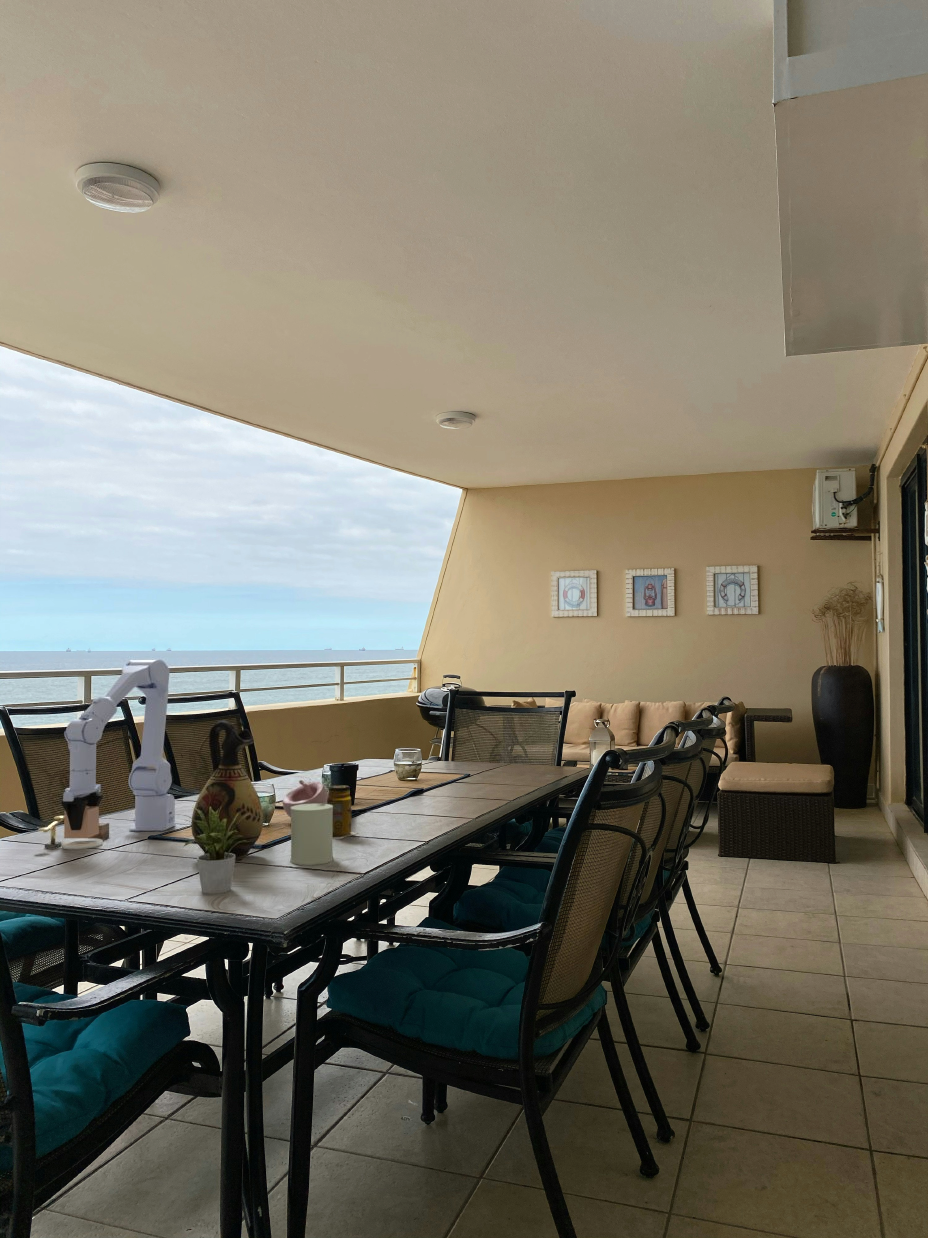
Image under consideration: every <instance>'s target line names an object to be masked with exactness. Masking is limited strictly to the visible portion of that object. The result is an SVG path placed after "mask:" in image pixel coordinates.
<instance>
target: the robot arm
mask: <svg viewBox="0 0 928 1238" xmlns="http://www.w3.org/2000/svg"><path fill="white" fill-rule="evenodd" d="M170 670H171V669H170V668H169V666H168V665H167V663H166V662H165V661H164V660H163V659H142V660H141V659H140V660H139V659H131V660H128V661H127V663H126V664H125V666H123V667H122V669H121V675H120V677H118V679H117V680H116V682H115V683H114V684H113V685H112V687H111V688H110V689H109V691H107V694H106V695H105V696H99V697H96V698H94V699H93V700H92V701H91V702H92V703H91V705H89V707H87V709H85V711H84V712H82V713H81V714H80V716H79V717H78V719H73V720H71V721H70V722H69V723H68V724H67V726H66V729H65V731H64V732H63V733H64V739H65V740H66V741H67V745H68V746H67V748H68V750H69V787H67V788H65V789H64V792H63V795H62V796H63V799H62V800H61V802H60V804H61V806H62V807H63V809H64V810H65V811H66V813H67V816H68V820H69V824H70V828H71V830H81V827H82V821H83V814H84V810H85V807H86V806H99V805H100V804H101V802H102V800H103V798H104V797H103V796H104V794H103V793H101V792H102V791H101V790H102V788H101V787H102V785H101V784H100V783H99V784H97V782H96V781H97V777H96V776H97V743H98V742H99V741H100V740H101V739H102V735H103V732H104V729H105V726H106V725H107V724H108V723H109V722H110V720H111V719H112V718H113V717H114V715H116V713H117V711H118V709H117V705H118V704H119V703H120V702H121V701H123V699H124V698H126V696H128V695H129V694H130V692H131V691H132V690H133V689H135V688H136V689H137V690H139V691H140V692H142V693H143V695H145V707H144V718H143V726H142V739H141V750H140V756H139V757H138V758H137V759H136V760H135V761H134V762H133V763H132V766H131V767H132V768H131V772H130V773H129V775H128V776H129V777H128V781H127V782H128V786H129V788H130V790H131V791H132V795H134V797H135V799H134V826H132V827H130V828H128V831H130V832H131V831H136V832H137V831H140V832H141V831H143V832H144V831H145V832H146V831H151V832H153V831H155V832H156V831H158V832H159V831H167V830H168V829H170V828H172V827H175V826H176V822H175V821H176V819H175V818H176V817H175V816H176V815H174V814H176V812H175V810H176V808H175V805H176V802H175V796H174V795H173V794H170V793H169V794H168V791H169V789H170V788H171V785H172V777H173V776H172V773H171V764H170V763H169V762H168V761H167V760H166V759H165V758H164V757H163V755H164V754H163V753H164V743H165V734H166V733H165V732H166V721H167V720H166V719H167V712H168V711H167V709H168V701H169V699H168V698H169V680H170V673H171V671H170Z"/></svg>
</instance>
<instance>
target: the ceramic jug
mask: <svg viewBox="0 0 928 1238" xmlns="http://www.w3.org/2000/svg"><path fill="white" fill-rule="evenodd" d="M222 731H224V733H225V737H224V739H223V741H222V743H221V744H220V734H221V732H222ZM254 741H255V740H254V737H253V734H252V732H251V731H249V729H247V728H244V729H242V730H241V731H239V732H238V730H237V728H236V727H235V725H234V723H233V722H230V721H228V720H224V719H223V720H219V721H217V722H215V723H214V724H213V725H212V726H211V728H210V729H209V732H208V747H209V752H210V758H211V759H210V760H211V764H212V772H211V775H210V777H209V779H208V780H207V781H206V783H205V785H204V787H203V788H202V790H201V792H200V793H199V795H198V797H197V799H196V802H195V804H194V807H193V810H192V815H191V818H193V819H194V820H195V821H196V822H197V821H202V819H201V816H200V814H199V813H198V811H197V810H196V809H198V810H200V811H201V812H202V813H203V815H204V816H205V819H206V822H207V824H208V827H209V829H210V823H209V808H210V807H211V809H212V810H213V811H214V812H216V811H217V810H218V809H219V810H220V812H219V810H218V812H219V820H220V822H221V821H222V820H223V819H225V818H227V821H226V830H225V834H224V836H225V835H226V832H227V830H228V828H229V827H230V825H231V823H232V821H233V820H234V818H235V817H236V815H237V814H238V813H239V814H238V815H237V817H236V819H235V821H234V823H233V824H232V826H231V828H230V829H229V832H230V831H231V830H232V831H234V832H232V833H231V834H230V835H229V836H228V838H227V840H226V842H227V841H228V840H229V839H230V838H231V837H233V836H237V835H240V836H242V837H239V838H237V839H235V840H234V841H233V842H232V843H231V845H230V846H229V847H228V848H227V850H226V852H225V853H228V852H229V850H230V849H231V847H232V846H233V845H235V844H236V843H238V842H240V841H243V840H246V841H243V842H240V843H238V844H236V845H235V846H234V847H233V848H232V849H231V851H230V852H229V853H232V854H235V862H239V861H242V860H243V859H247V858H248V854H249V852H250V851H251V849H252V848H253V847H254V845H255V844H256V843H257V842H258V840H259V838H260V836H261V834H262V831H263V827H264V815H263V808H262V804H261V803H262V802H261V801H260V796H259V795H258V791H257V789H256V788H255V786H254V785H253V782H252V781H251V779H250V777H249V776H248V774H247V773H246V772H245V770H244V769H243V767H242V765H241V763H240V760H239V751H240V750H242V749H243V748H246V747H247V746H250V745H252V744H254ZM221 750H222V753H221ZM221 806H222V807H221ZM194 808H196V809H194ZM220 808H221V809H220ZM218 812H217V815H218ZM250 813H251V814H250ZM247 814H248V815H247ZM244 816H245V817H244ZM243 817H244V818H243ZM193 819H191V822H192V823H193V824H194V825H195V826H196V827H197V828H196V827H195V826H194V825H193V824H192V823H191V822H190V825H191V828H190V829H191V834H192V837H193V839H194V841H200V842H203V841H202V839H200V838H199V837H197V836H200V835H202V834H204V832H203V831H202V829H201V828H200V827H199V826H198V825H196V824H197V823H198V822H197V823H196V822H195V821H194V820H193ZM198 824H199V823H198ZM234 826H235V827H234ZM233 827H234V828H233ZM197 829H198V830H199V831H198V830H197ZM200 833H201V834H200ZM200 842H196V845H197V846H198V847H199V848H200V850H201V851H202V852H203V855H204V854H209V853H208V850H206V848H205V846H204V845H203V844H202V843H200ZM203 843H204V842H203ZM225 844H226V843H225Z"/></svg>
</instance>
